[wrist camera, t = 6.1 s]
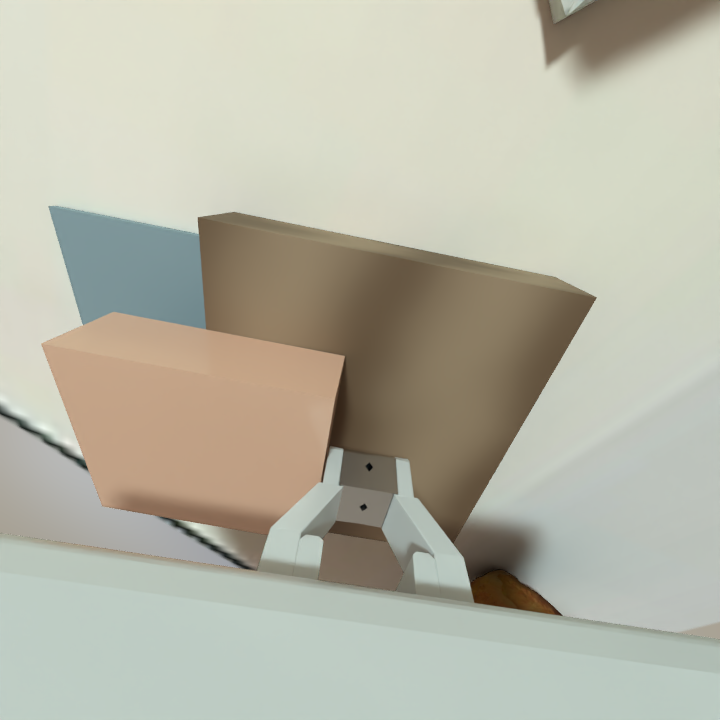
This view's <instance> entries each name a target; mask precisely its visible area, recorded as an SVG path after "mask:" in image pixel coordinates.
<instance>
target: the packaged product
mask: <svg viewBox="0 0 720 720" xmlns="http://www.w3.org/2000/svg"><path fill="white" fill-rule="evenodd" d="M595 1H597V0H549V5H550V9H551V14H552V19H553V23H554V24H555V23H557V22H559V21H561V20H562V19H564V18H566V17H568V16H570V15H571V14H573V13H575V12H577V11H578V10H580V9H582V8H584V7H586V6H587V5H589V4H591V3H593V2H595Z"/></svg>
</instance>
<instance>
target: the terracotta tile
mask: <svg viewBox="0 0 720 720" xmlns="http://www.w3.org/2000/svg"><path fill="white" fill-rule="evenodd" d="M41 345H42V347H43V350H44V353H45V355H46V358H47V361H48V363H49V366H50V369H51V371H52V374H53V376H54V379H55V382H56V384H57V387H58V390H59V392H60V395H61V398H62V400H63V403H64V406H65V408H66V411H67V414H68V416H69V419H70V422H71V424H72V427H73V430H74V432H75V435H76V438H77V440H78V443H79V446H80V448H81V451H82V453H83V456H84V459H85V461H86V464H87V467H88V469H89V472H90V475H91V477H92V480H93V483H94V485H95V488H96V490H97V493H98V496H99V499H100V501H101V504H102V506H104V507H109V508H115V509H121V510H127V511H132V512H138V513H143V514H149V515H155V516H161V517H167V518H172V519H178V520H184V521H190V522H195V523H201V524H207V525H213V526H218V527H224V528H230V529H236V530H241V531H247V532H253V533H259V534H264V535H268V534H269V531H270V528H271V527H272V526H273V525H274V524H275V523H276V522H277V521H278V520H279V519H280V518H281V517H282V516H283V515H284V514H286V513H287V512H288V511H289V510H290V509H291V508H292V507H293V506H294V505H295V504H296V503H297V502H298V501H299V500H300V499H301V498H302V497H304V496H305V495H306V494H307V493H308V492H309V491H310V490H311V489H312V488H313V487H314V486H315V485H316V484H317V483H318V482H321V483H323V478H324V472H325V466H326V461H327V455H328V449H329V444H330V438H331V432H332V427H333V421H334V416H335V410H336V404H337V399H338V393H339V387H340V382H341V376H342V371H343V365H344V359H345V356H342V355H337V354H332V353H327V352H321V351H316V350H311V349H306V348H300V347H295V346H290V345H285V344H280V343H274V342H269V341H264V340H259V339H253V338H248V337H243V336H238V335H232V334H227V333H222V332H217V331H211V330H206V329H201V328H196V327H191V326H185V325H180V324H175V323H170V322H164V321H159V320H154V319H149V318H144V317H138V316H133V315H128V314H123V313H117V312H112V313H110V314H107V315H105V316H103V317H101V318H98V319H96V320H94V321H92V322H89V323H87V324H85V325H83V326H80V327H78V328H76V329H73V330H71V331H69V332H67V333H64V334H62V335H60V336H58V337H55V338H53V339H51V340H49V341H46V342H44V343H42V344H41Z"/></svg>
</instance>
